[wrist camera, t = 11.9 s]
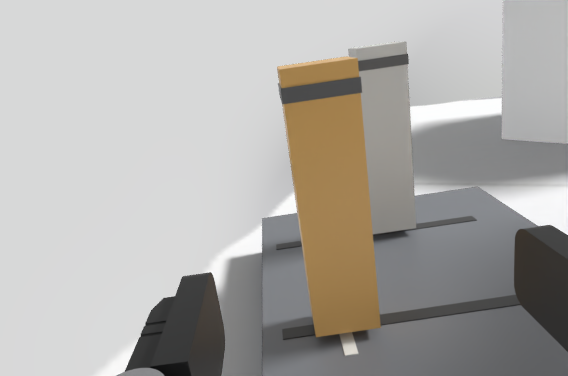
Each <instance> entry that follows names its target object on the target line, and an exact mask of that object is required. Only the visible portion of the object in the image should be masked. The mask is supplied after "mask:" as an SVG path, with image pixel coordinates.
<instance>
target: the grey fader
mask: <svg viewBox="0 0 568 376" xmlns="http://www.w3.org/2000/svg"><path fill="white" fill-rule="evenodd" d="M348 51H349V57H353V58H358V68H359V76H360V77H361V84H362V93H361V103H362V114H363V126H364V138H365V150H366V161H367V173H368V185H369V196H370V208H371V220H372V231H373V234H379V233H386V232H393V231H400V230H406V229H413V228H416V215H415V196H414V177H413V159H412V140H411V121H410V102H409V85H408V84H409V83H408V54H407V47H406V42H391V43H384V44H378V45H370V46H364V47H357V48H350V49H348Z"/></svg>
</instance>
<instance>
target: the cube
mask: <svg viewBox="0 0 568 376" xmlns="http://www.w3.org/2000/svg"><path fill="white" fill-rule="evenodd" d="M501 139H505V140H519V141H533V142H547V143H561V144H568V0H503V45H502V137H501Z"/></svg>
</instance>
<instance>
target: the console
mask: <svg viewBox="0 0 568 376" xmlns="http://www.w3.org/2000/svg"><path fill="white" fill-rule="evenodd" d="M415 215H416V228H413V229H406V230H400V231H393V232H386V233H379V234H373V243H374V255H375V266H376V278H377V290H378V301H379V313H380V325H381V328H376V329H369V330H362V331H355V332H348V333H342V334H335V335H328V336H321V337H316V334H315V329H314V324H313V318H312V313H311V307H310V300H309V293H308V286H307V279H306V272H305V264H304V257H303V250H302V243H301V236H300V228H299V221H298V214H297V213H295V214H288V215H281V216H274V217H268V218H262V376H568V352H567V351H566V350H565V349H564V348H563V347H562V346H561V345H560V344H559V343H558V342H557V341H556V340H555V339H554V338H553V337H552V336H551V335H550V334H549V333H548V332H547V331H546V330H545V329H544V328H543V327H542V326H541V325H540V324H539V323H538V322H537V321H536V320H535V319H534V318H533V317H532V316H531V315H530V314H529V313H528V312H527V311H526V310H525V309H524V308H523V307H522V305H521V304H520V302H519V301H518V298H517V296H516V293H515V288H514V251H515V235H516V233H517V231H518V230H519V229H524V228H531V227H538V226H537V225H536V224H534V223H532V222H531V221H529V220H528V219H526V218H525V217H523V216H522V215H520V214H519V213H517V212H516V211H514V210H513V209H511V208H509V207H508V206H506V205H505V204H503V203H502V202H500V201H499V200H497V199H496V198H494V197H493V196H491V195H490V194H488V193H487V192H485V191H483V190H482V189H480V188H479V187H472V188H465V189H458V190H451V191H445V192H438V193H431V194H424V195H417V196H415Z"/></svg>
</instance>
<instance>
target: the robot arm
mask: <svg viewBox="0 0 568 376" xmlns="http://www.w3.org/2000/svg"><path fill="white" fill-rule="evenodd" d="M514 288H515V293H516V296H517V298H518V301H519V302H520V304H521V305H522V307H523V308H524V309H525V310H526V311H527V312H528V313H529V314H530V315H531V316H532V317H533V318H534V319H535V320H536V321H537V322H538V323H539V324H540V325H541V326H542V327H543V328H544V329H545V330H546V331H547V332H548V333H549V334H550V335H551V336H552V337H553V338H554V339H555V340H556V341H557V342H558V343H559V344H560V345H561V346H562V347H563V348H564V349H565V350H566V351H567V352H568V235H566V234H565V233H563V232H562V231H560V230H558V229H557V228H555V227H553V226H551V225H545V226H538V227H531V228H524V229H519V230H518V231H517V233H516V235H515V251H514ZM224 350H225V334H224V326H223V321H222V316H221V311H220V306H219V301H218V296H217V291H216V286H215V282H214V278H213V275H212V273H211V272H210V273H203V274H196V275H190V276H183V277H182V279H181V282H180V285H179V287H178V290H177V293H176V296H175V297H168V298H164V299H163V300H162V301H160V302H159V303H158V304H157V305H156V306H155V307H154V308H153V309H152V310H151V312H150V314H149V317H148V319H147V322H146V326H144V328H143V330H142V333H141V337H139V340H138V342H137V344H136V347H135V349H134V351H133V354H132V356H131V358H130V361H129V363H128V365H127V368H126V370H125V372H123V373H121V374H119V375H117V376H221V373H222V365H223V358H224Z"/></svg>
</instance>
